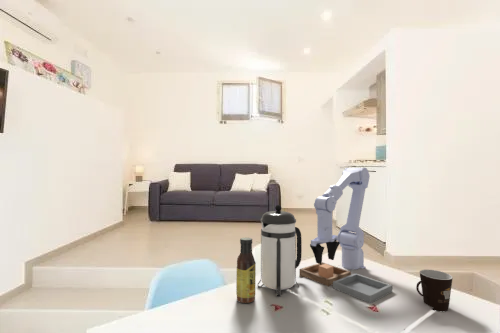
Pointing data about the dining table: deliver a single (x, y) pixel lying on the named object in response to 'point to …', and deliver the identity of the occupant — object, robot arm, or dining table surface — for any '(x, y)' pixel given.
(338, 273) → the walnut crate
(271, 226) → the coffee press
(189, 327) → the dining table surface
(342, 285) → the grey bin
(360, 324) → the dining table surface
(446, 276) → the coffee mug
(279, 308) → the dining table surface
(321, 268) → the terracotta block
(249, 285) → the sauce bottle
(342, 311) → the dining table surface
